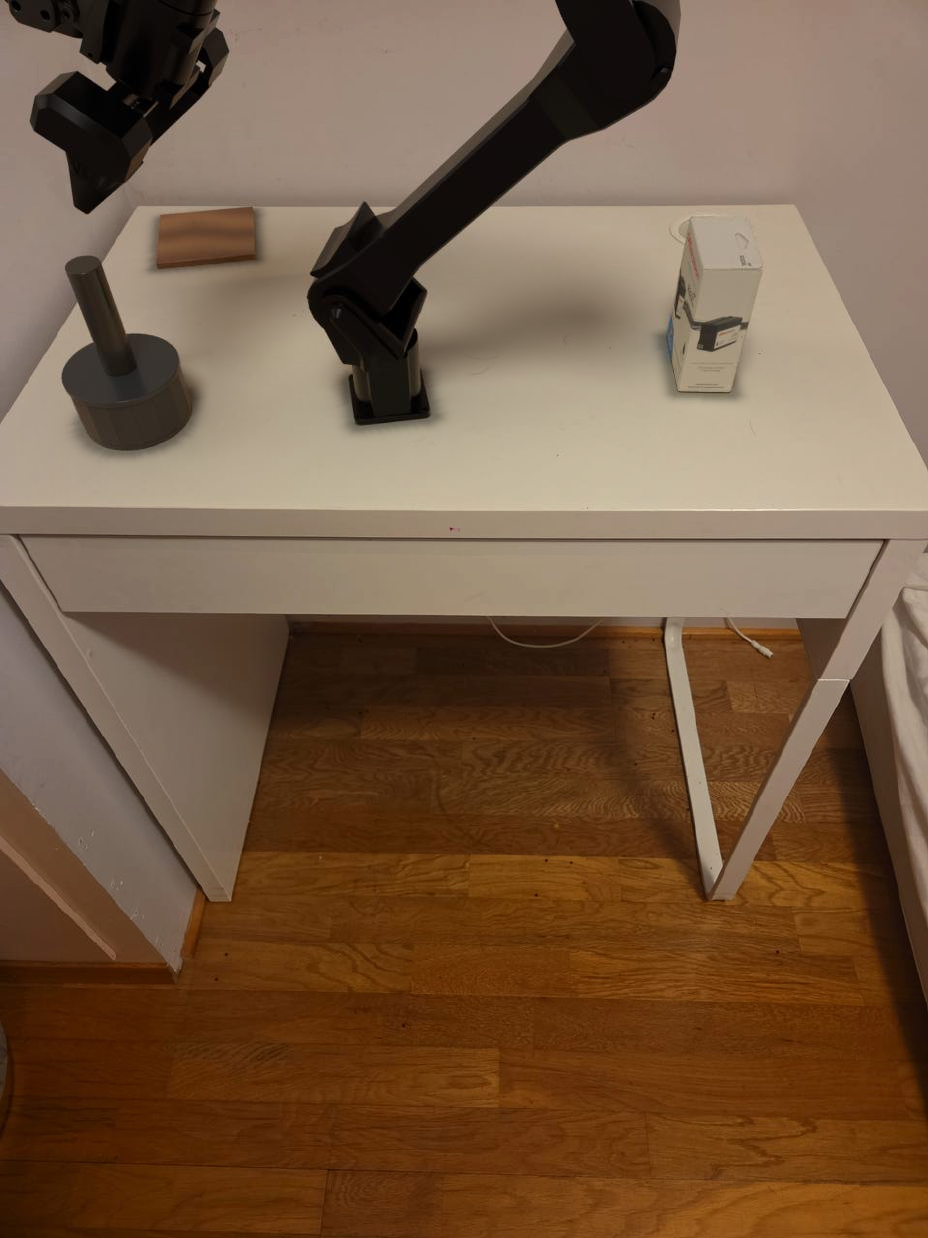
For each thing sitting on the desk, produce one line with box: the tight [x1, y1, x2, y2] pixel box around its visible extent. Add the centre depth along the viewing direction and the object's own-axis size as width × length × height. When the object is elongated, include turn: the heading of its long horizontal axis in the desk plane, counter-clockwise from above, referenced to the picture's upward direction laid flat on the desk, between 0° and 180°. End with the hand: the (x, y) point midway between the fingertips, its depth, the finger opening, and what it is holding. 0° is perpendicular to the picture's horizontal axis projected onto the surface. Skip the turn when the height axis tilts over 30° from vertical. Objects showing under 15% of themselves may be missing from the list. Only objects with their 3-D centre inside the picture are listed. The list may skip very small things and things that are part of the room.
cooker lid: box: [60, 254, 181, 408], centre depth 70 cm, size 9×9×10 cm
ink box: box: [666, 215, 764, 393], centre depth 76 cm, size 8×5×12 cm, turn 178°
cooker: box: [70, 365, 193, 451], centre depth 75 cm, size 9×9×4 cm
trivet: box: [155, 206, 257, 270], centre depth 95 cm, size 10×10×1 cm
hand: (109, 179), depth 67 cm, fingers open, 9 cm apart
